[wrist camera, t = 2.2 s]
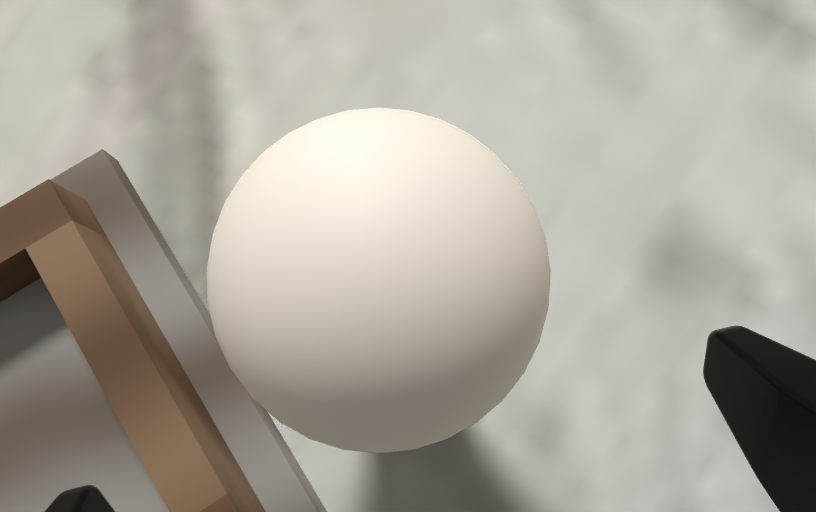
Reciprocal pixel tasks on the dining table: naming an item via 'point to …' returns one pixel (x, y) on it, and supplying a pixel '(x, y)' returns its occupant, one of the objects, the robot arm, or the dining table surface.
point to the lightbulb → (378, 280)
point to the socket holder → (121, 365)
